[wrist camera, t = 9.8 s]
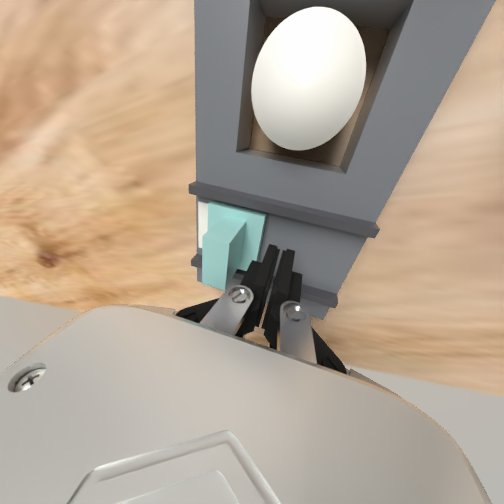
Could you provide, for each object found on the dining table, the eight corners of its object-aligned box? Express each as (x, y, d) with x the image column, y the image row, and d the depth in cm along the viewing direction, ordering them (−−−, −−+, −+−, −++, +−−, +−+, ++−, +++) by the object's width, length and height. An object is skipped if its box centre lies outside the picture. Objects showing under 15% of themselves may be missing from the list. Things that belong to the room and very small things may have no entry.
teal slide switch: (267, 212, 14) (252, 239, 10) (256, 267, 16) (241, 302, 13) (213, 199, 14) (182, 221, 11) (211, 254, 17) (185, 285, 13)
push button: (367, 48, 11) (390, 12, 7) (332, 151, 13) (338, 158, 10) (276, 37, 11) (260, 1, 8) (261, 138, 14) (245, 140, 11)
